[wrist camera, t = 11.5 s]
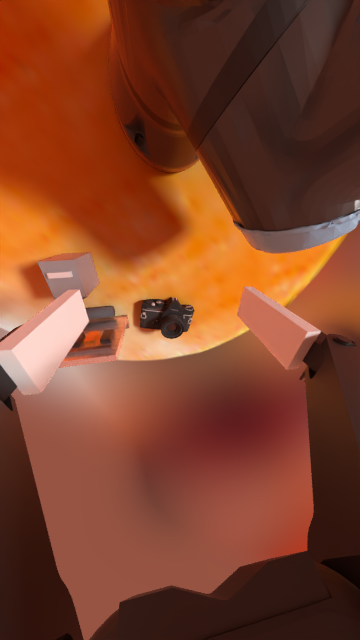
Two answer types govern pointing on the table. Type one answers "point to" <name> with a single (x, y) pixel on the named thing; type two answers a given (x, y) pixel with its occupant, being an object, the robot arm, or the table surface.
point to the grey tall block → (70, 273)
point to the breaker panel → (98, 341)
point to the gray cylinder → (100, 312)
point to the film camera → (166, 316)
